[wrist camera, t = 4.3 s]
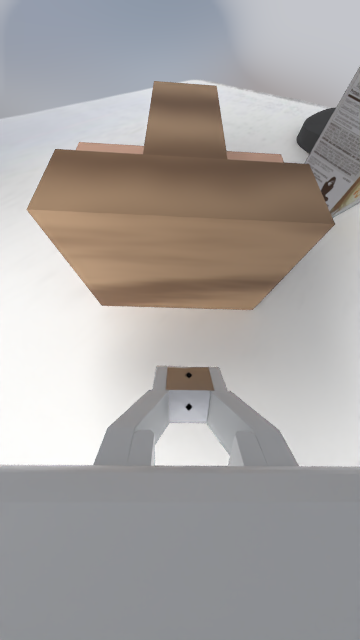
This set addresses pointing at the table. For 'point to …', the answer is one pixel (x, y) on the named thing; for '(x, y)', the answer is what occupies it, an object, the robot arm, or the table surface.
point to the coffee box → (340, 153)
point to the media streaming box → (313, 129)
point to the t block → (179, 213)
